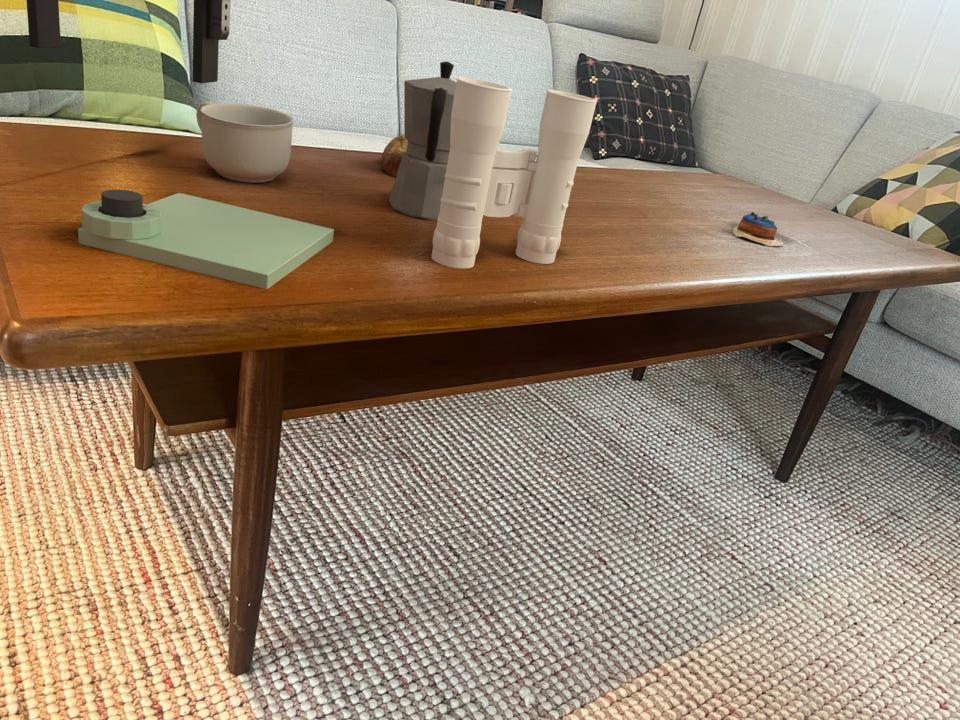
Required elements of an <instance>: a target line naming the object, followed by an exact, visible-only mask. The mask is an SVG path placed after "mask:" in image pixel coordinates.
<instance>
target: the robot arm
mask: <svg viewBox="0 0 960 720" xmlns="http://www.w3.org/2000/svg"><path fill="white" fill-rule="evenodd" d="M25 2H26V13H27V14H26V15H27V27H28V41H29V47H31V48H36V49H61V48H62V42H61V41H62V39H61V21H60V4H59V0H25ZM192 17H193V22H192V23H193V26H192V27H193V28H192V82H193V83H198V84H209V83H217V82H218V81H219V79H218V78H219V42H220V41H227V40H228V38H229V35H230V24H231V20H230V19H231V0H193V16H192Z"/></svg>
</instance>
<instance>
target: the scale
mask: <svg viewBox="0 0 960 720" xmlns="http://www.w3.org/2000/svg"><path fill="white" fill-rule="evenodd" d="M81 223H82V224H81V225H82V226H81V227H79V228H78V229H77V236H78V237H77V239H78V245H82V246H87V247H92V248H95V249H100V250H104V251H108V252H113V253H116V254H120V255H124V256H128V257H131V258H132V257H133V258H137V259H141V260H145V261H149V262H153V263H157V264H162V265H166V266H170V267H174V268H178V269H181V270H186V271H190V272H193V273H194V272H195V273H198V274H202V275H205V276H210V277H215V278H219V279H221V280H227V281H230V282H235V283H239V284H243V285H248V286H251V287H254V288H255V287H256V288H261V289H264V290H268V289H270V288H271V287H273V286H274V285H275V284H277V283H278V282H280V281H281V280H282V279H283V278H285V277H286V276H288V275H289V274H290V273H292V272H293V271H295V270H296V269H297V268H298V267H300V266H301V265H302V264H304V263H305V262H307V261H308V260H310V259H311V258H312V257H313V256H315V255H316V254H317V253H319V252H320V251H322V250H323V249H325V248H326V247H327V246H329V245H330V244H332V243H333V242H334V234H335V229H333V228H330V227H326V226H322V225H317V224H313V223H309V222H304V221H301V220H297V219H292V218H288V217H283V216H279V215H275V214H271V213H267V212H262V211H258V210H253V209H249V208H246V207H241V206H238V205H233V204H230V203H229V204H228V203H224V202H220V201H215V200H211V199H208V198H202V197H200V196H195V195H192V194H191V195H190V194H186V193H183V192H177V193H175V194H172V195H168V196H166V197H163V198H160V199H158V200H155V201H152V202H149V203H143V216H141V217H132V218H124V217H113V216H109V215H105V214H102V202H101V200H95V201H92V202H88V203H85V204H83V205H82V207H81Z"/></svg>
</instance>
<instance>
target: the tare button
mask: <svg viewBox="0 0 960 720" xmlns="http://www.w3.org/2000/svg"><path fill="white" fill-rule="evenodd" d="M100 193H101V194H100V197H101V198H100V201H101V202H102V214H105V215H109V216H113V217H124V218H132V217H141V216H143V204H144V196H143V194H141V193H139V192H137V191H133V190H128V189H127V190H126V189H106V190H103V191H102V192H100Z"/></svg>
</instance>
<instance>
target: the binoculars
mask: <svg viewBox="0 0 960 720" xmlns="http://www.w3.org/2000/svg"><path fill="white" fill-rule="evenodd" d="M455 82H456V88H455V94H454V100H453V107H452V113H451V134H450V145H451V146H450V152H449V158H448V164H447V170H446V173H445V182H444V188H443V194H442V198H441V206H440V212H439V216H438V220H437V222H436V226H435V228H434V231H433V235H432V251H431V259H432V260H433V261H434V262H436V263H437V264H439V265H442V266H445V267H449V268H453V269H454V268H455V269H471V268H473V267H474V266H475V261H476V256H477V254H478V252H479V249H480V244H481V237H480V236H481V231H482V225H483V224H482V222H483V218H484V216H485V217H488V218H510V217H511V216H514V217H517V218H522V220H521V225H520V227H519V229H518V232H517V239H516V241H517V244H516V249H515V255H516V256H517V257H518V258H520V259H522V260H524V261H526V262H530V263H535V264H541V265H549V264H550V265H551V264H553V263H554V262H555V260H556V255H557V252H558V250H559V248H560V246H561V241H562V231H563V227H564V221H565V217H566V212H567V209H568V207H569V200H570V196H571V192H572V188H573V186H574V185H575V183H574V179H575V176H576V171H577V167H578V163H579V159H580V157H581V155H582V152H583V149H584V147H585V144H586V142H587V139H588V137H589V134H590V131H591V126H592V122H593V118H594V114H595V111H596V110H595V109H596V105H597V103H598V100H597V99H596V98H595V99H594V98H593V97H589V96H586V95H581V94H577V93H573V92H569V91H563V90H556V89H547V90H546V93H545V99H544V103H543V109H542V113H541V118H540V122H539V133H538V145H537V150H535V149H531V148H527V149H522V150H514V151H513V150H507V151H506V150H499V149H498V147H499V144H500V141H501V139H502V135H503V132H504V129H505V127H506V121H507V116H508V112H509V106H510V101H511V95H512V92H513V89H512V88H511V87H510V86H506V85H504V84H500V83H495V82H491V81H486V80H482V79H476V78H469V77H457V78H456V80H455Z"/></svg>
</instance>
